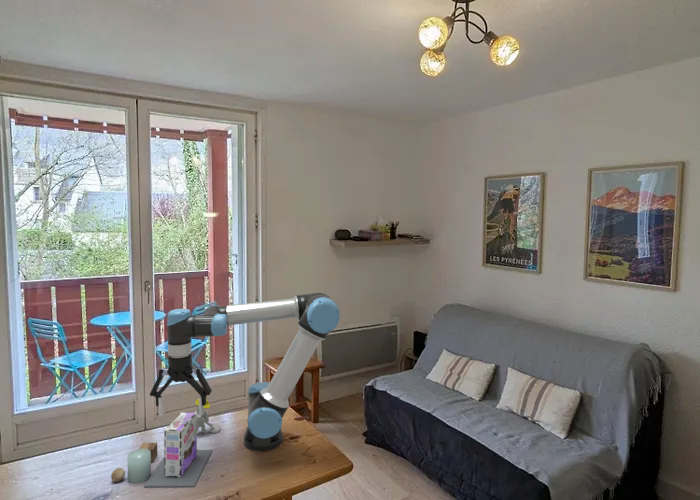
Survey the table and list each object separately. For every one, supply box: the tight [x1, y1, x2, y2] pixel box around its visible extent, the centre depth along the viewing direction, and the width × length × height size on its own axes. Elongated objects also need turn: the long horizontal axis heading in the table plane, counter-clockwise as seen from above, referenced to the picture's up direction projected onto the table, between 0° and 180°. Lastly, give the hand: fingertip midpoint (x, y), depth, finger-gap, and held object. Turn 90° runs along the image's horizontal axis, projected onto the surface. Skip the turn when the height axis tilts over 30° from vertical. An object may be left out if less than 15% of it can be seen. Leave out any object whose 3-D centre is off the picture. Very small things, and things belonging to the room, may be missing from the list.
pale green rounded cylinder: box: [126, 448, 152, 484], centre depth 147 cm, size 7×7×8 cm
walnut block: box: [138, 442, 158, 464], centre depth 158 cm, size 5×5×5 cm
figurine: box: [193, 398, 222, 436], centre depth 177 cm, size 10×9×15 cm
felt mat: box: [143, 449, 213, 489], centre depth 153 cm, size 16×22×1 cm
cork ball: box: [110, 467, 126, 483], centre depth 145 cm, size 4×4×4 cm
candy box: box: [163, 412, 198, 477], centre depth 152 cm, size 14×6×16 cm, turn 177°
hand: (181, 414), depth 151 cm, fingers open, 13 cm apart
